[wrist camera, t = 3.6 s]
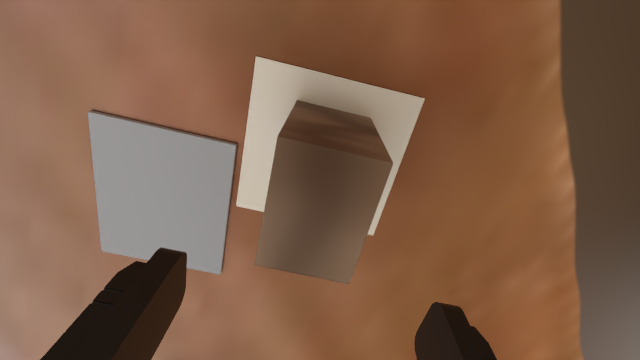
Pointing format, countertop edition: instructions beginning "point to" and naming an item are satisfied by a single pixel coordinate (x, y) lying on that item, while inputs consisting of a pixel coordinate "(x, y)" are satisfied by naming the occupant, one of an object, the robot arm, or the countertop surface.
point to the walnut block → (322, 192)
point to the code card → (325, 90)
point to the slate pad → (161, 190)
